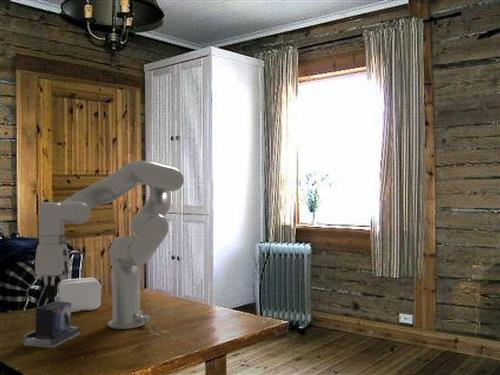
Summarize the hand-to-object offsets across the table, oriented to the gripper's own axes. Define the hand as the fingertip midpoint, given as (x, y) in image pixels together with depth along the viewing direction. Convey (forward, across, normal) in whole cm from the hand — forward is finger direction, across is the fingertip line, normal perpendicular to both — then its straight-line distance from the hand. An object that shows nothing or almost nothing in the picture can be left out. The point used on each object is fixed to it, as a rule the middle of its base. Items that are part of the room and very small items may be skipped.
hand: (51, 297), depth 164 cm
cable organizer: (+14, +15, -40) cm, 45 cm away
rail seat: (+14, 0, 0) cm, 14 cm away
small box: (+13, 0, 0) cm, 13 cm away
